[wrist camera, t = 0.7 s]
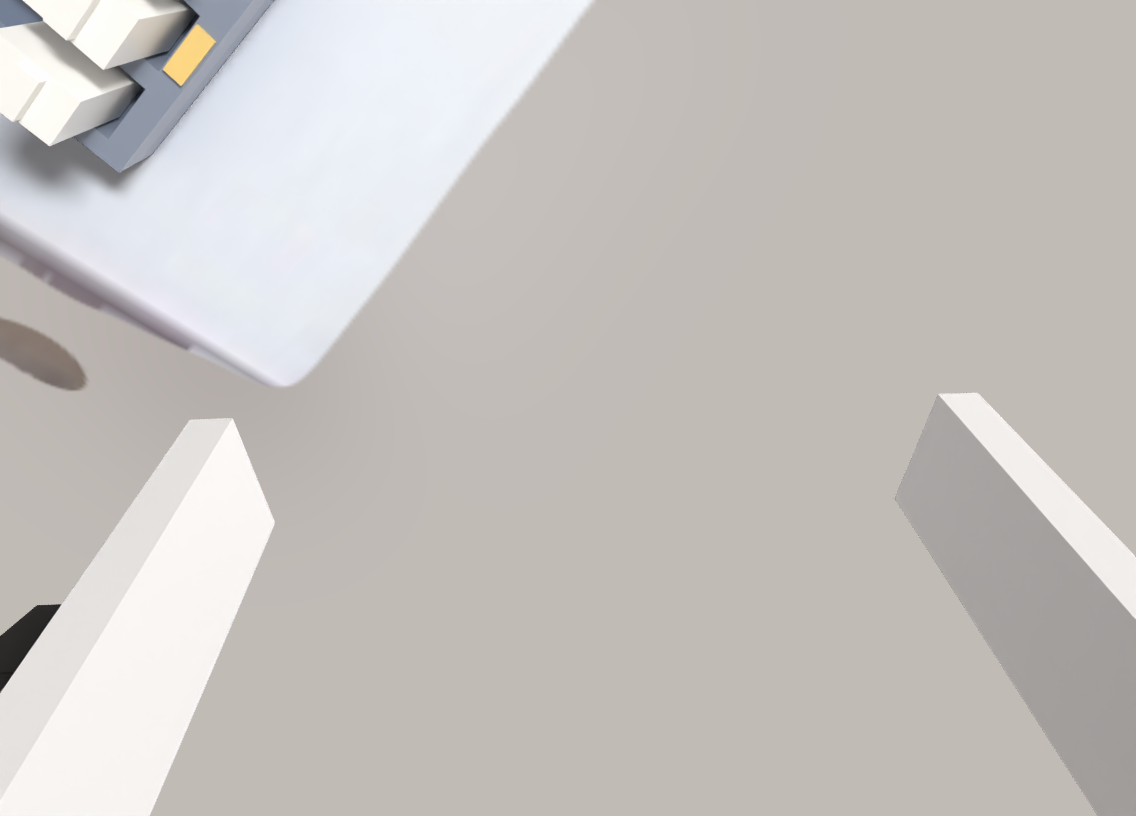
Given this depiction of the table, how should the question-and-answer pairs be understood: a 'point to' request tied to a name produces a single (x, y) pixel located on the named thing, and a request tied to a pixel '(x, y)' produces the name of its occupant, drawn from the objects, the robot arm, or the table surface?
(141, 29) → the tab
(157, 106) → the switch bank
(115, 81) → the tab
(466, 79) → the table surface
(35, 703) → the robot arm
